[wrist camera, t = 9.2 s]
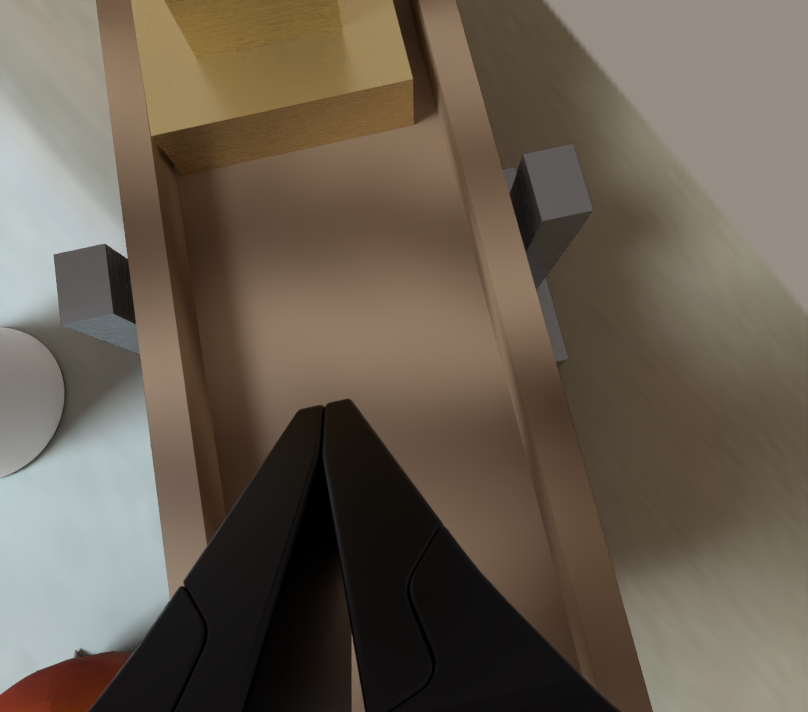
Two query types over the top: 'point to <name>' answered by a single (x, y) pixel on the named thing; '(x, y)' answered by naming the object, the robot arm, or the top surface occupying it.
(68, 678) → the fruit
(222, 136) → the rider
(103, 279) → the beam stand
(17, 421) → the cosmetic bottle
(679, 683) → the top surface
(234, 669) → the robot arm
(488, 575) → the beam
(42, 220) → the top surface
